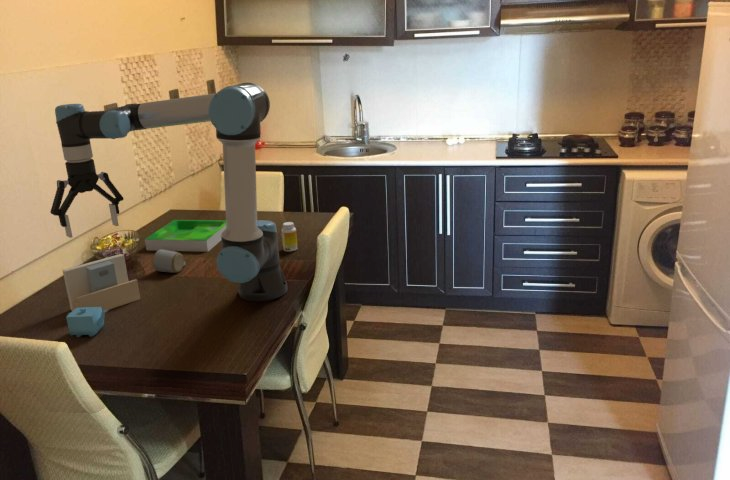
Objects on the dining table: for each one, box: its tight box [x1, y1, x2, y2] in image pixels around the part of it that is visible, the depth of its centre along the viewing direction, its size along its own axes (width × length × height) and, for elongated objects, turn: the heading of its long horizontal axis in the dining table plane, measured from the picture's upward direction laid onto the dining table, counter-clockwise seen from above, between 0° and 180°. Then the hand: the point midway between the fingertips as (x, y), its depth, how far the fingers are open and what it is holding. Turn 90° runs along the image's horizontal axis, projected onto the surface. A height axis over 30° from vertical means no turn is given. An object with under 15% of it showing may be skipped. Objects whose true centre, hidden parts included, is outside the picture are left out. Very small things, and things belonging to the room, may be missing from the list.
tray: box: [144, 219, 226, 253], centre depth 247 cm, size 25×25×5 cm
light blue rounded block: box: [65, 307, 110, 338], centre depth 173 cm, size 12×6×8 cm, turn 90°
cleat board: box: [62, 253, 141, 312], centre depth 189 cm, size 9×18×13 cm, turn 134°
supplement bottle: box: [280, 221, 299, 252], centre depth 231 cm, size 6×6×10 cm
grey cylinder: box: [152, 249, 186, 274], centre depth 216 cm, size 11×8×8 cm
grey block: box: [86, 261, 118, 293], centre depth 188 cm, size 4×7×10 cm, turn 134°
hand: (93, 230), depth 183 cm, fingers open, 13 cm apart
